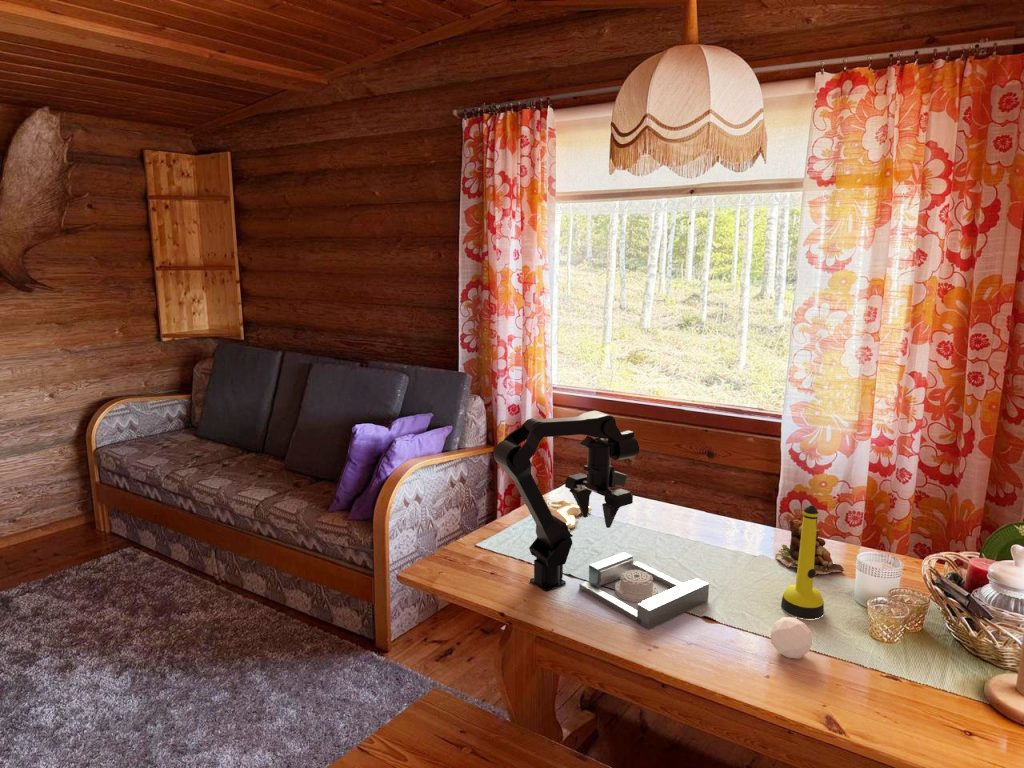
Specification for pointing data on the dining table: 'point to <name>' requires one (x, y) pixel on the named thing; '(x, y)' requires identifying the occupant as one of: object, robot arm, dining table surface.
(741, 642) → the dining table surface
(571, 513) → the unicorn
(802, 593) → the flashlight
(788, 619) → the ball
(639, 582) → the mechanical component
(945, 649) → the dining table surface
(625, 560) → the block
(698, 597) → the vise
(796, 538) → the mossy log pile
